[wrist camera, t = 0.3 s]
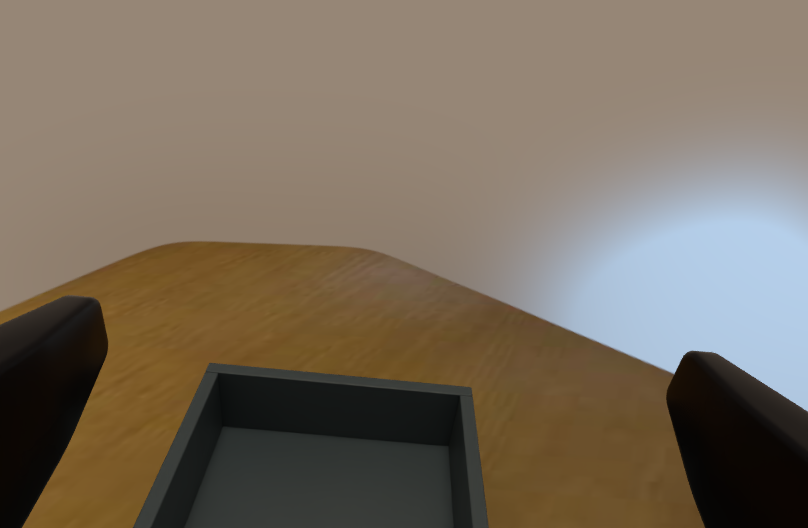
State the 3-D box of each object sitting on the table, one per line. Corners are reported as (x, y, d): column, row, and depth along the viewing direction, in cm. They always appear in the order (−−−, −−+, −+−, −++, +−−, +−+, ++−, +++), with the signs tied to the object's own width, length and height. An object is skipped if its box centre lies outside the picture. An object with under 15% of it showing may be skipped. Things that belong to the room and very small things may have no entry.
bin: (483, 748, 18) (508, 692, 16) (95, 723, 17) (69, 661, 15) (458, 444, 28) (471, 386, 26) (215, 423, 28) (209, 362, 26)
